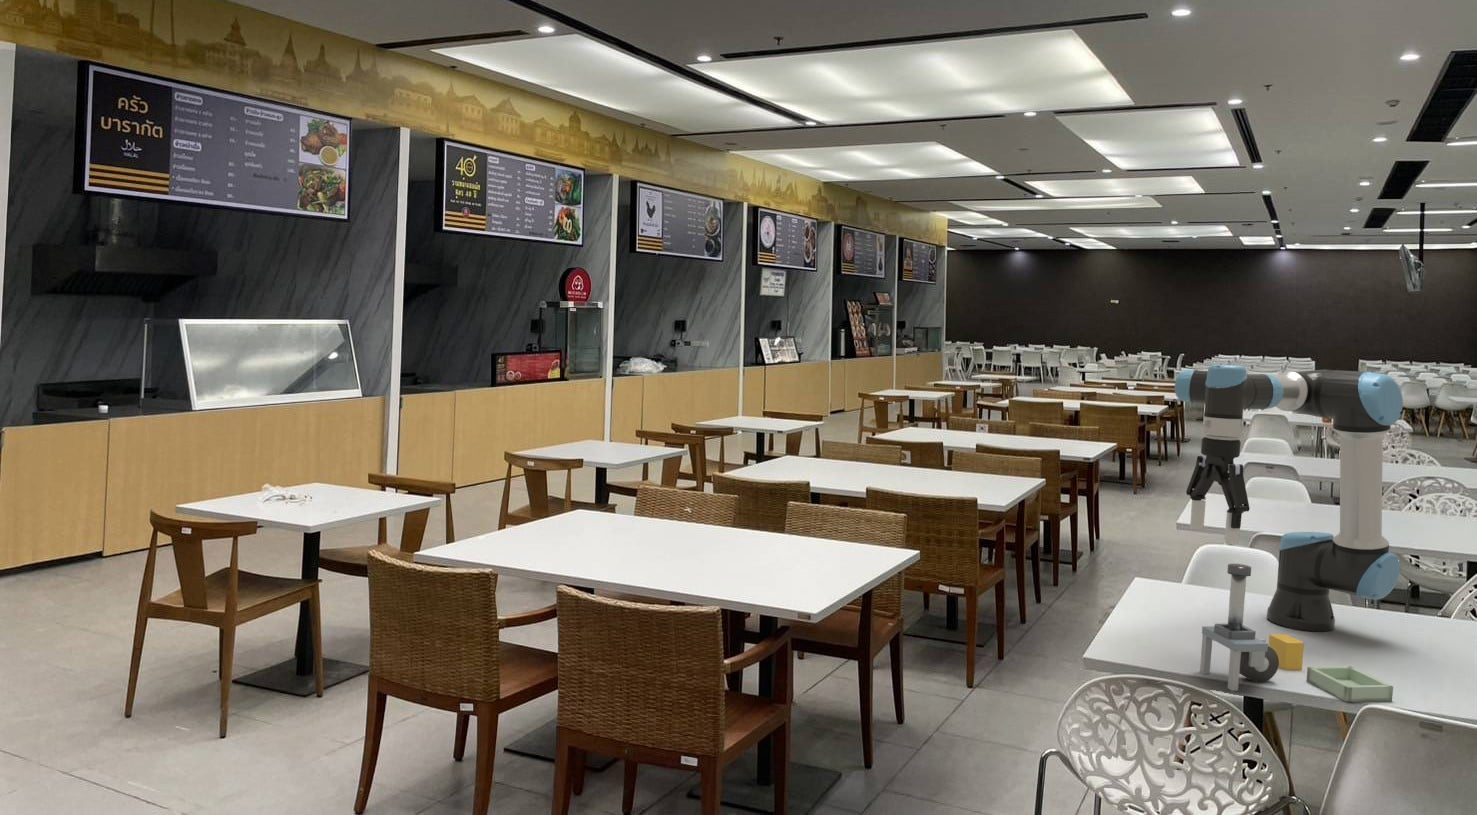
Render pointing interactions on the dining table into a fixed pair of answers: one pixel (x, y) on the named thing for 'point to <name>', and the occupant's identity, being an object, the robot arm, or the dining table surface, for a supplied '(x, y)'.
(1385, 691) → the tray
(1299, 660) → the block
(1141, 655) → the dining table surface
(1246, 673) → the cart
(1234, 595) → the pin
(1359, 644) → the dining table surface
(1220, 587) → the dining table surface
